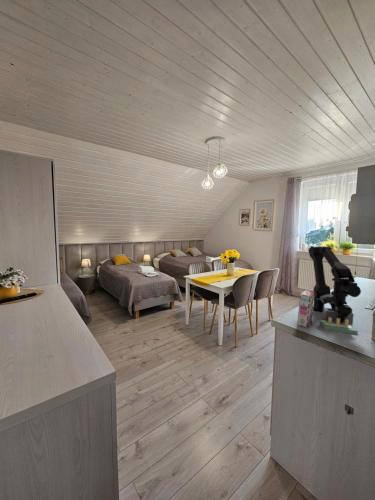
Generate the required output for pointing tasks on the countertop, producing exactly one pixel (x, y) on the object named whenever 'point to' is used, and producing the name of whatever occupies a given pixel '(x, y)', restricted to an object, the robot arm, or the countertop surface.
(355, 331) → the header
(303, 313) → the candy bar box
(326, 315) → the grey cinder block
